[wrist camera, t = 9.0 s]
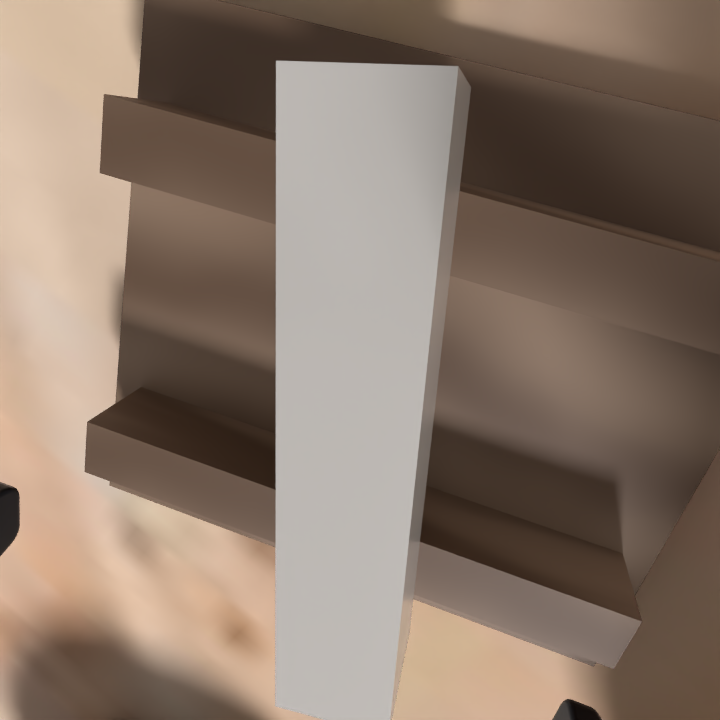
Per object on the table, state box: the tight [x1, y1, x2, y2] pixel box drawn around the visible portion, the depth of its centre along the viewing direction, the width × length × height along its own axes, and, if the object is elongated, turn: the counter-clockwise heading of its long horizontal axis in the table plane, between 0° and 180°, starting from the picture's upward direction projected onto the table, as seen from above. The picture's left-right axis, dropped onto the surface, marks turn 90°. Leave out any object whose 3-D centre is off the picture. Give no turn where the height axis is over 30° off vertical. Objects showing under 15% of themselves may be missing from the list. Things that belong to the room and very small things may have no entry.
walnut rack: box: [85, 0, 720, 669], centre depth 18 cm, size 18×20×4 cm
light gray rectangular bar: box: [275, 61, 471, 720], centre depth 14 cm, size 16×3×4 cm, turn 177°
